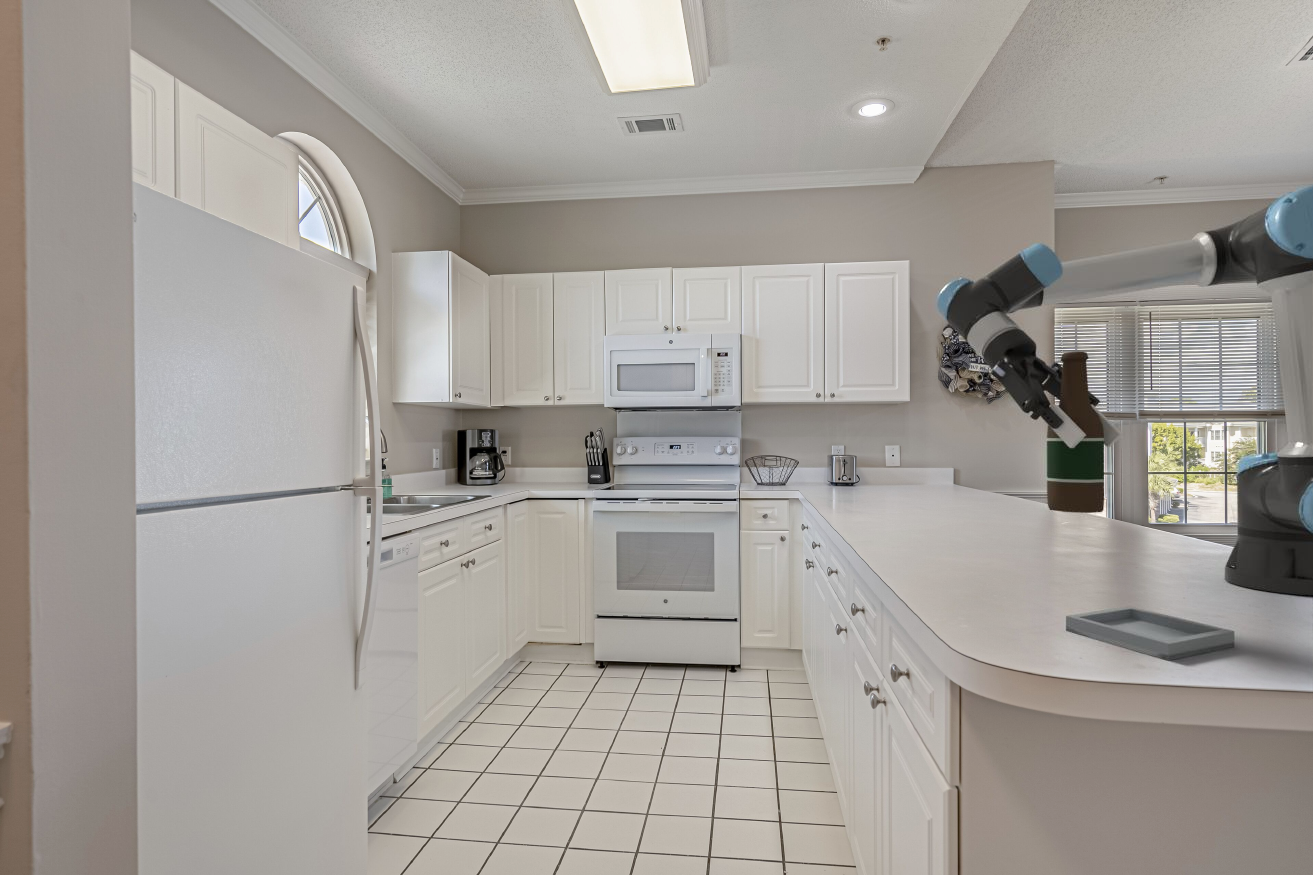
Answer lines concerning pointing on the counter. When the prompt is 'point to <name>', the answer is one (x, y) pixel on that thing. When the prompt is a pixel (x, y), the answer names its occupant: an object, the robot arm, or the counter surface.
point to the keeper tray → (1150, 632)
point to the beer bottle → (1082, 467)
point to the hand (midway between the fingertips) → (1096, 440)
